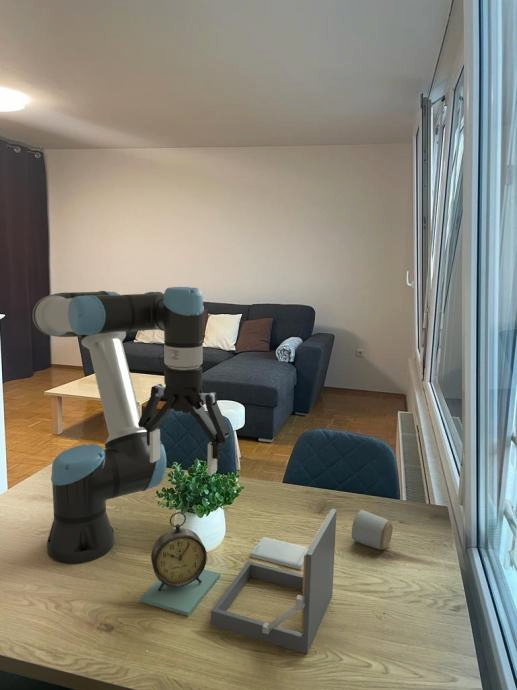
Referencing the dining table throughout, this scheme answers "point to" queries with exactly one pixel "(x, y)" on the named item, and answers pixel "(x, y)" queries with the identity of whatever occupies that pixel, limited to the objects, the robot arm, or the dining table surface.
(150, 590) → the rubber mat
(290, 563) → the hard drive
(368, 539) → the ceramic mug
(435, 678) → the dining table surface
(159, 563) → the alarm clock
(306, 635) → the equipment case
